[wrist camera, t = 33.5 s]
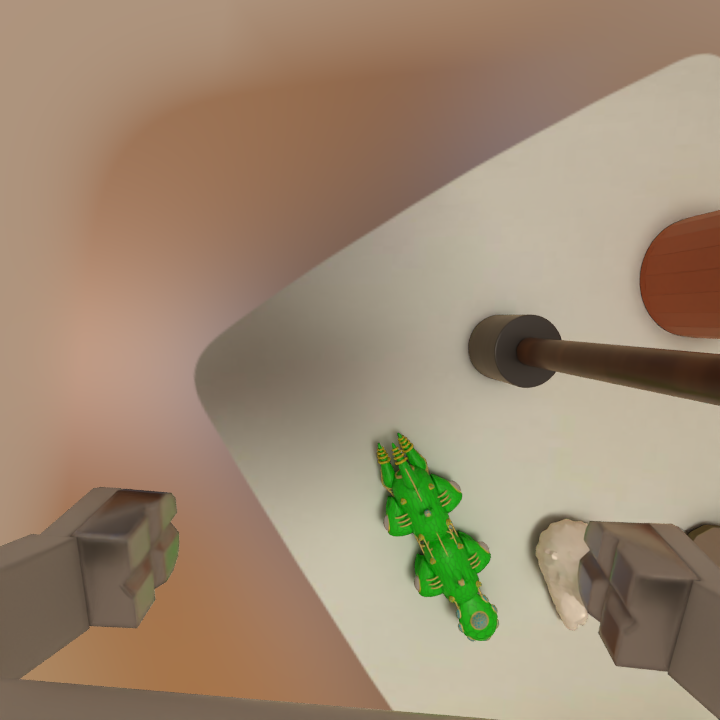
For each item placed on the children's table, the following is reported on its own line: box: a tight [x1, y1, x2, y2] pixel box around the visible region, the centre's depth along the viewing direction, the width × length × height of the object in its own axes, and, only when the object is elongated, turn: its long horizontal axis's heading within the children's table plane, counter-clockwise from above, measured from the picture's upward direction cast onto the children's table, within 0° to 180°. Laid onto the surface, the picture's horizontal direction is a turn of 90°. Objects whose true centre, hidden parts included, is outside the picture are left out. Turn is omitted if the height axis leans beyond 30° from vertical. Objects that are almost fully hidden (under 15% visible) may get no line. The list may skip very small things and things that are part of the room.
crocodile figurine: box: [377, 433, 499, 641], centre depth 37 cm, size 7×18×4 cm, turn 26°
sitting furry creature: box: [536, 519, 589, 630], centre depth 35 cm, size 10×9×12 cm
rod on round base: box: [469, 315, 720, 406], centre depth 26 cm, size 5×5×24 cm
